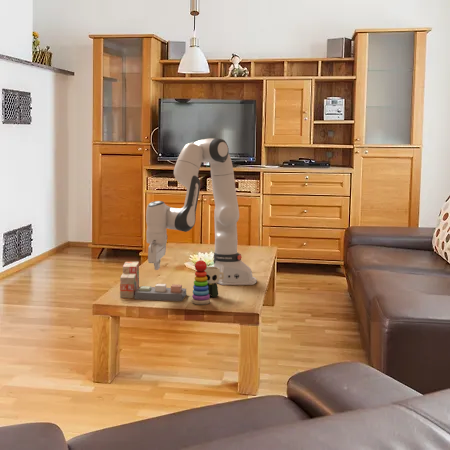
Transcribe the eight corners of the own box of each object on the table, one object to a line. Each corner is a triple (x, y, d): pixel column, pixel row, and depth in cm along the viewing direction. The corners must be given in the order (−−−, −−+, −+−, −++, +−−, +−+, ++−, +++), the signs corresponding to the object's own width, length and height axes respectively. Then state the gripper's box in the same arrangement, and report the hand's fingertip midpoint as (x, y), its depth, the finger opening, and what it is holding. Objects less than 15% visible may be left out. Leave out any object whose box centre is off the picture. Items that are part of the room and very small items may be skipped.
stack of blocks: (134, 298, 298) (134, 270, 297) (119, 298, 298) (119, 270, 297) (139, 286, 320) (139, 261, 318) (125, 286, 319) (125, 261, 318)
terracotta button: (181, 291, 301) (181, 284, 301) (180, 293, 297) (180, 286, 297) (172, 290, 302) (172, 284, 301) (170, 293, 298) (170, 286, 297)
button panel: (186, 295, 305) (186, 288, 304) (181, 301, 294) (182, 294, 294) (140, 293, 307) (140, 286, 307) (134, 299, 296) (134, 292, 296)
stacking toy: (191, 300, 295) (191, 258, 293) (209, 300, 296) (210, 258, 293) (191, 305, 287) (192, 262, 285) (210, 305, 288) (211, 262, 285)
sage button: (150, 292, 303) (150, 286, 303) (148, 295, 299) (148, 288, 298) (141, 292, 303) (141, 286, 303) (139, 294, 299) (139, 288, 299)
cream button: (166, 290, 302) (166, 284, 302) (164, 292, 298) (164, 286, 297) (157, 290, 302) (157, 283, 302) (155, 292, 298) (155, 285, 298)
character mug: (198, 298, 300) (198, 269, 298) (199, 294, 307) (200, 266, 305) (223, 298, 299) (223, 270, 298) (223, 294, 307) (224, 266, 305)
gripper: (158, 242, 287) (159, 274, 289) (168, 234, 307) (168, 264, 309) (144, 242, 287) (144, 274, 289) (154, 234, 308) (155, 264, 310)
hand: (157, 269), depth 299 cm, fingers closed
